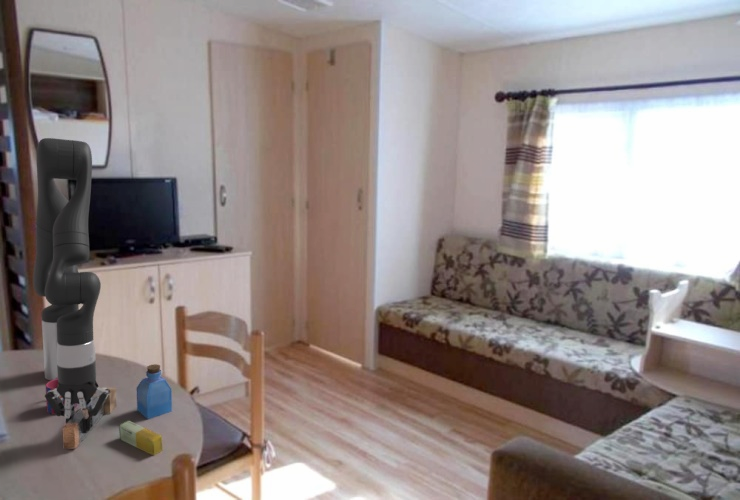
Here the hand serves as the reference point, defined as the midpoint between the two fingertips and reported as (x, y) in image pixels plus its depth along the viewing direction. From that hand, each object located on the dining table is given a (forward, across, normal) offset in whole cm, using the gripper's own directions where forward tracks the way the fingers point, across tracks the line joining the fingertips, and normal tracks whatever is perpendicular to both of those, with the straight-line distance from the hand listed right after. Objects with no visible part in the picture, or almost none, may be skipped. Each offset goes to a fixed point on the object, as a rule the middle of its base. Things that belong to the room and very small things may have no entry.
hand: (79, 431), depth 119 cm
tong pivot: (+1, 0, -14) cm, 14 cm away
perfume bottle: (+2, -13, -13) cm, 18 cm away
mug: (+2, +11, -16) cm, 20 cm away
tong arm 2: (+1, -1, -3) cm, 3 cm away
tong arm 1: (+1, +1, -3) cm, 3 cm away
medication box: (+2, -14, +3) cm, 15 cm away
